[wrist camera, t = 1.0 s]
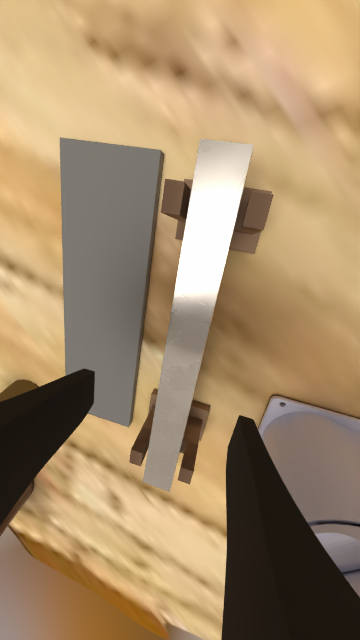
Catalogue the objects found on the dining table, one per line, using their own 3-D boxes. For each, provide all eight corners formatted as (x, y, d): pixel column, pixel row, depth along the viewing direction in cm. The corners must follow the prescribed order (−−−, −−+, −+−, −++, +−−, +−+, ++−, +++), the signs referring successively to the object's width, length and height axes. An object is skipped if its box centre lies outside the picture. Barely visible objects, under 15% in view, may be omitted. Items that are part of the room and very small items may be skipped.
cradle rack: (270, 194, 15) (292, 163, 9) (201, 434, 23) (191, 495, 18) (186, 182, 16) (161, 147, 10) (149, 417, 24) (123, 470, 19)
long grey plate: (164, 154, 16) (160, 150, 15) (131, 422, 25) (128, 427, 24) (67, 142, 17) (59, 137, 16) (71, 401, 26) (66, 406, 26)
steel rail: (249, 163, 12) (253, 144, 9) (176, 465, 20) (169, 492, 18) (206, 158, 12) (200, 138, 10) (152, 456, 21) (142, 481, 18)
